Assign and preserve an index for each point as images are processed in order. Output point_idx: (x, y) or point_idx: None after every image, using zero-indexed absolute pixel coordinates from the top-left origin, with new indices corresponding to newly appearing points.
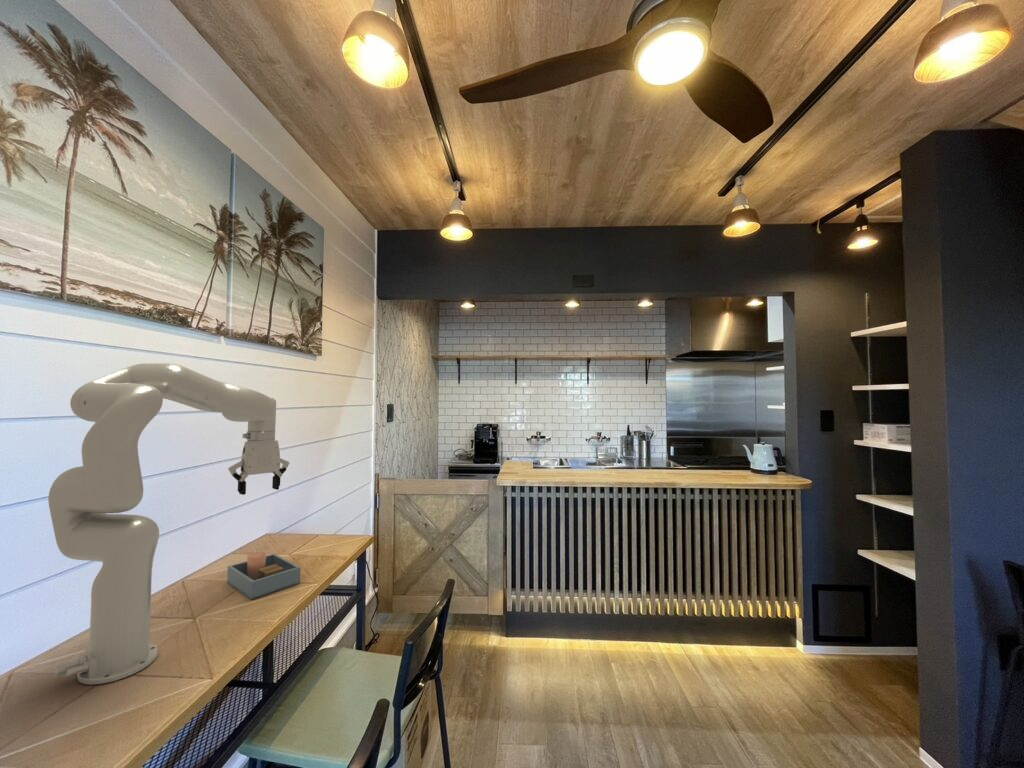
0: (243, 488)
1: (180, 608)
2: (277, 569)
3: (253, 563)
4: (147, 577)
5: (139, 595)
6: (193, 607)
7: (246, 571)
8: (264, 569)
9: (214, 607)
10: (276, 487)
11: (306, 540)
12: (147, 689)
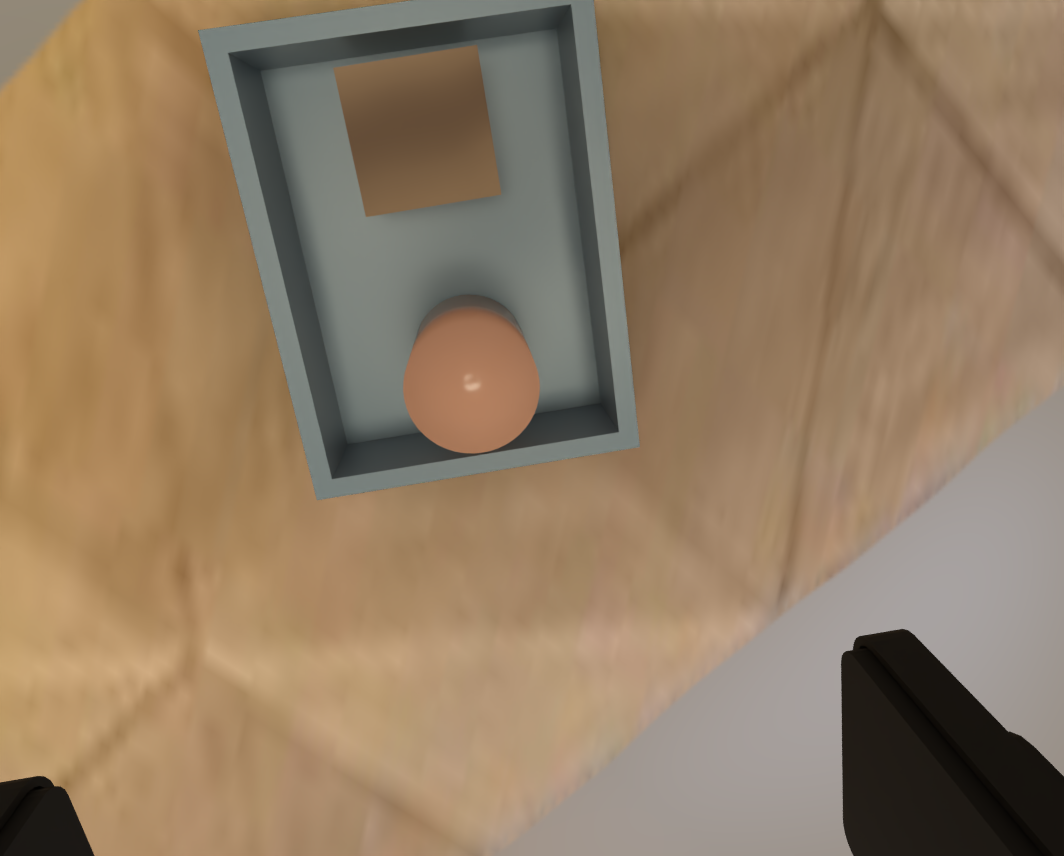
0: (1006, 736)
1: (886, 214)
2: (380, 68)
3: (506, 324)
4: None
5: None
6: (837, 175)
7: None
8: (464, 149)
9: (756, 83)
10: (27, 821)
11: None
12: None
